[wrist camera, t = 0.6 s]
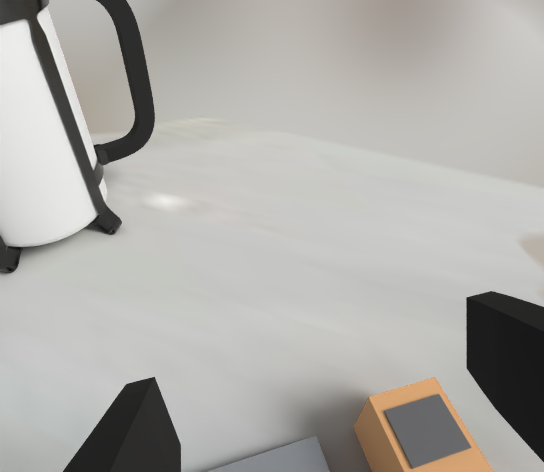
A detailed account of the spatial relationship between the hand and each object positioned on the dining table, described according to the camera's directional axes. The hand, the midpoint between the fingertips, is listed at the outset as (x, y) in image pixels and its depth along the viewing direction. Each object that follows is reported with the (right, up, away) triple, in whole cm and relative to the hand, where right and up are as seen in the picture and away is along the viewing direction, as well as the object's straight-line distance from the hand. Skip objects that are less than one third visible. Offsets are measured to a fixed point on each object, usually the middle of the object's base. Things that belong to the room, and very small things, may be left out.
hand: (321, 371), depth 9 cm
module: (+8, -12, +15) cm, 21 cm away
